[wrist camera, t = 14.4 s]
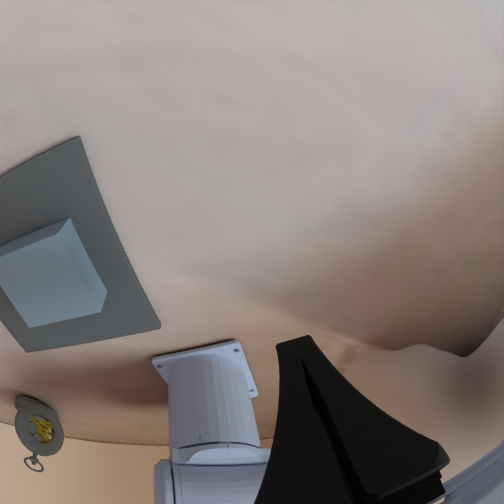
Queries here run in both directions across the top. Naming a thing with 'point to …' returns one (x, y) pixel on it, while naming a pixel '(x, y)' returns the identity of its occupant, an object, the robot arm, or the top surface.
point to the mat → (92, 237)
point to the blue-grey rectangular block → (50, 276)
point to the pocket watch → (37, 429)
